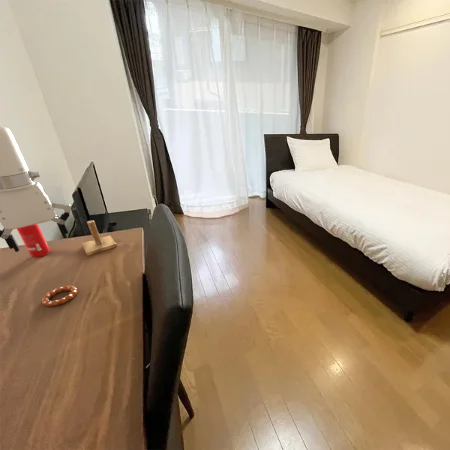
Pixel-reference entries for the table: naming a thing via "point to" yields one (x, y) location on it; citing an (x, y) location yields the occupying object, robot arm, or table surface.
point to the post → (97, 241)
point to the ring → (57, 302)
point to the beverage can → (34, 240)
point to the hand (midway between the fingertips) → (42, 242)
